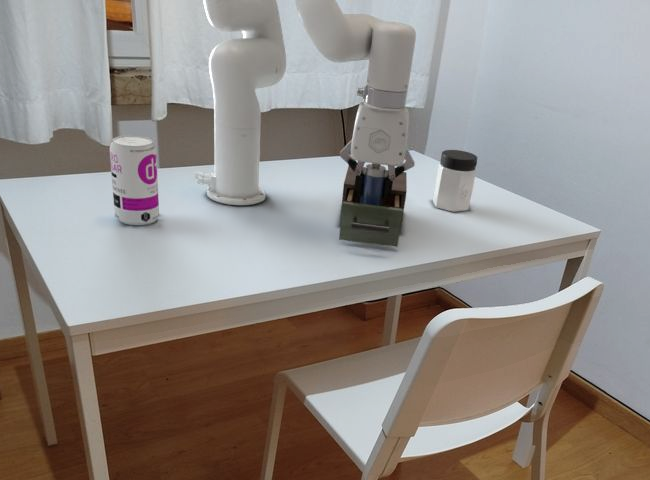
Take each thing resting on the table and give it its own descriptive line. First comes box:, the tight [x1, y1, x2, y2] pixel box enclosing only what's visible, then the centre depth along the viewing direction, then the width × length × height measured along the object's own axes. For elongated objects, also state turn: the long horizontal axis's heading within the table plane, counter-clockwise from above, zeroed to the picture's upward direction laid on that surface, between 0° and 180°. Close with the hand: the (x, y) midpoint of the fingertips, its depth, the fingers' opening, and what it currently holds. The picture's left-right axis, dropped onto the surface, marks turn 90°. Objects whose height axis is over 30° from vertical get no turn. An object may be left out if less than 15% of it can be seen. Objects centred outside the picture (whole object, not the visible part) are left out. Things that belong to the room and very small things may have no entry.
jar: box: [432, 149, 478, 213], centre depth 154 cm, size 9×8×12 cm
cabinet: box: [338, 165, 408, 235], centre depth 141 cm, size 14×13×9 cm
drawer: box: [338, 188, 404, 248], centre depth 131 cm, size 17×11×7 cm
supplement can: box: [109, 135, 160, 226], centre depth 126 cm, size 8×8×15 cm
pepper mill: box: [360, 163, 387, 206], centre depth 130 cm, size 4×4×13 cm
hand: (372, 195), depth 130 cm, fingers closed on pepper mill, 4 cm apart
